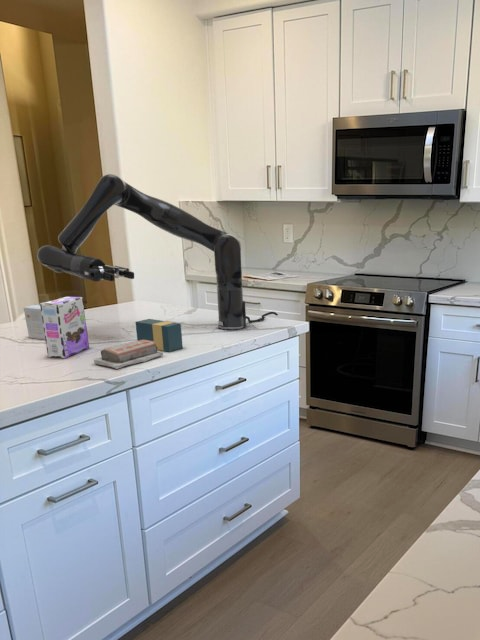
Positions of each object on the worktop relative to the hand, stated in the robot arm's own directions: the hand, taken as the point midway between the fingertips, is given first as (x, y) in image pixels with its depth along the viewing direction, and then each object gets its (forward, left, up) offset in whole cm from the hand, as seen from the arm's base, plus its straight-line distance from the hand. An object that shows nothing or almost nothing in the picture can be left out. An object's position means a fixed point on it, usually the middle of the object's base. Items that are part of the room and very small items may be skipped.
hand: (123, 276), depth 196 cm
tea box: (-5, +13, -17) cm, 22 cm away
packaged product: (+9, +23, -21) cm, 33 cm away
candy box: (+21, +4, -21) cm, 30 cm away
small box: (+22, -23, -21) cm, 39 cm away
